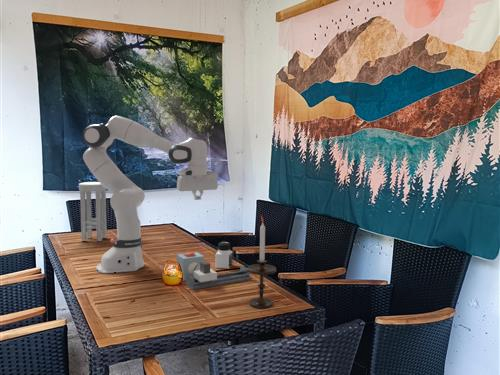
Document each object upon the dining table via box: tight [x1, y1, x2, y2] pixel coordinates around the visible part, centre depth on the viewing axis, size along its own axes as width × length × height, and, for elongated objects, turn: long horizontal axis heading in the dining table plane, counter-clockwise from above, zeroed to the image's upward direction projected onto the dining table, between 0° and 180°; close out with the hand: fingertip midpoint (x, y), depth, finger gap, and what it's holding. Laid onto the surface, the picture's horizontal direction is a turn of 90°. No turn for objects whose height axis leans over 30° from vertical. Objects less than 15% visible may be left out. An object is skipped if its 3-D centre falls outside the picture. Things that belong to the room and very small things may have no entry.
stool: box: [78, 181, 108, 242], centre depth 268 cm, size 16×16×35 cm
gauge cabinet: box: [176, 251, 205, 282], centre depth 201 cm, size 10×9×10 cm
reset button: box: [185, 251, 195, 257], centre depth 201 cm, size 4×4×4 cm
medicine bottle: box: [214, 241, 234, 270], centre depth 218 cm, size 7×7×12 cm
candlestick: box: [247, 214, 277, 310], centre depth 168 cm, size 11×11×35 cm
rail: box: [185, 265, 251, 291], centre depth 195 cm, size 28×8×4 cm, turn 120°
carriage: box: [193, 260, 218, 282], centre depth 191 cm, size 8×7×7 cm
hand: (197, 199), depth 214 cm, fingers closed
